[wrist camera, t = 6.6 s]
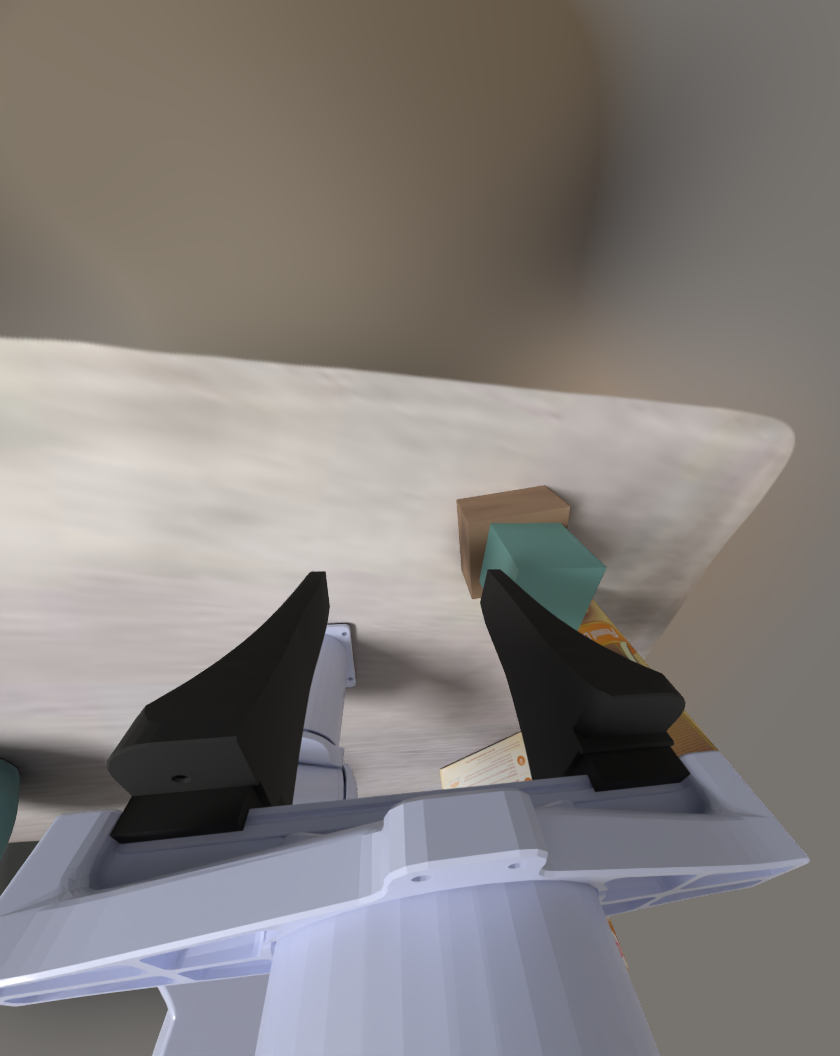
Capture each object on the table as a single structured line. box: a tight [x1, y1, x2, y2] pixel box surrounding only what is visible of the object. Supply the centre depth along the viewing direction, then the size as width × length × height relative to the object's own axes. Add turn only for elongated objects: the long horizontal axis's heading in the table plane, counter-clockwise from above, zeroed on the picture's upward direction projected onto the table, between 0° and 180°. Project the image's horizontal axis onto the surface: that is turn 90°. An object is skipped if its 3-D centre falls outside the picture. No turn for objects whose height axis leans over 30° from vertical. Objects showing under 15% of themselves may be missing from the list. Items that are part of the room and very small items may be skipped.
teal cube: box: [479, 523, 607, 631], centre depth 19 cm, size 5×5×5 cm
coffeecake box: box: [440, 732, 629, 970], centre depth 38 cm, size 15×7×20 cm, turn 128°
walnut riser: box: [457, 485, 570, 599], centre depth 23 cm, size 7×7×4 cm
